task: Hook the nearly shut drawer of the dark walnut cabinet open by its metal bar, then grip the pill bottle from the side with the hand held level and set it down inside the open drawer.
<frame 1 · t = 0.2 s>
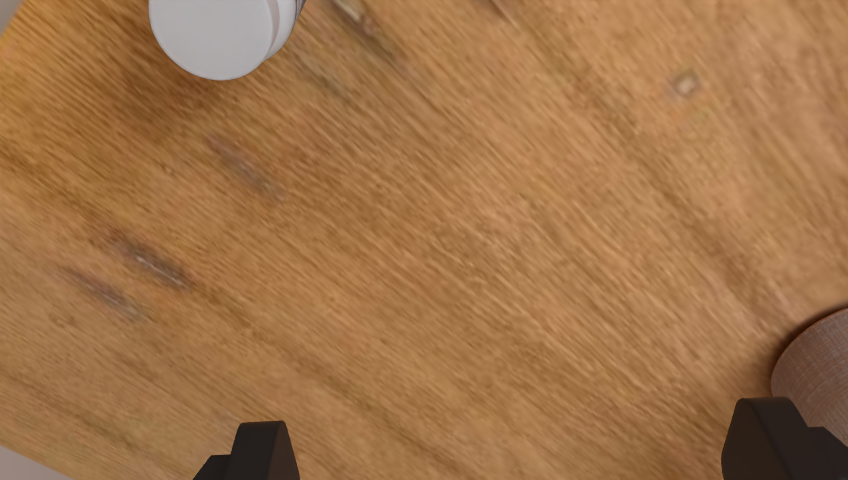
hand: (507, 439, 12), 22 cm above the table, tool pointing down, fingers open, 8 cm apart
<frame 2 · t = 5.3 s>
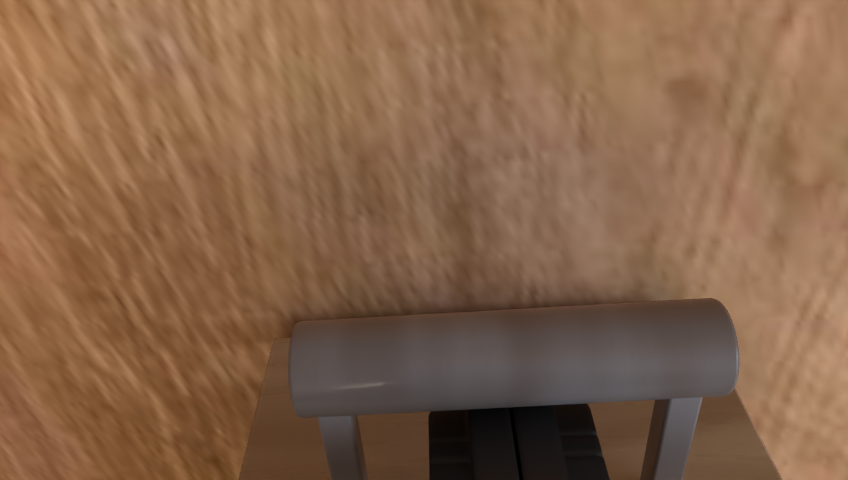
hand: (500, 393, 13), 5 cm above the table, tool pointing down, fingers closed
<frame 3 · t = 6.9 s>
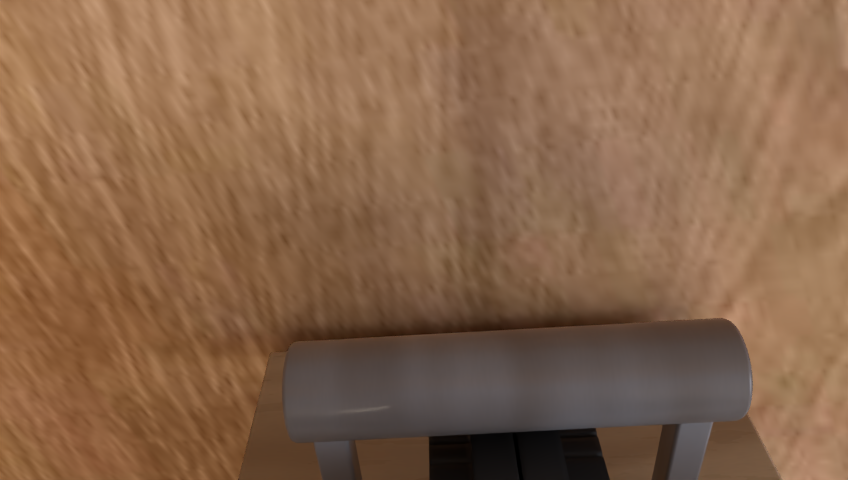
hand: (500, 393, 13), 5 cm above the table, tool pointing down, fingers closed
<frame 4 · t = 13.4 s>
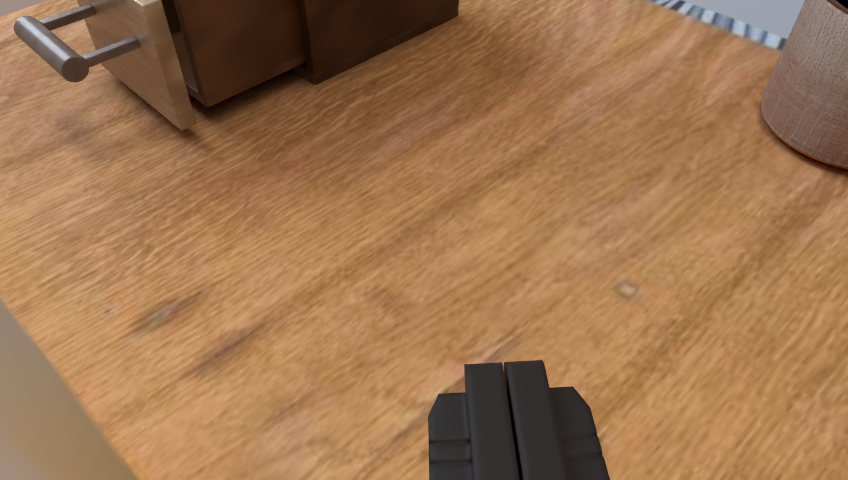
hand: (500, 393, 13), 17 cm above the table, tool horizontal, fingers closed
cabinet: (341, 20, 57), on the table
drawer: (183, 15, 47), point 5 cm above the table, slide at 9.5 cm
planter: (837, 130, 47), on the table
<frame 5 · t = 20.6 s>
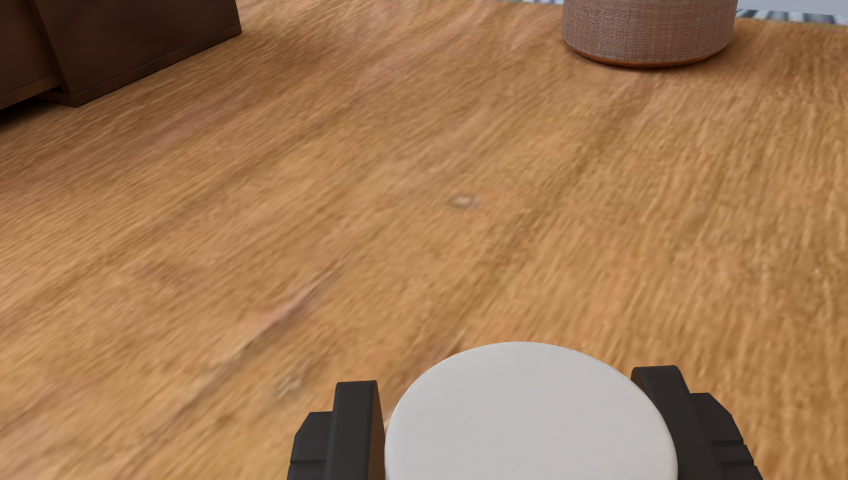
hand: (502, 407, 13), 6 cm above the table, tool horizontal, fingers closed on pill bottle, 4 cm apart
cabinet: (110, 55, 51), on the table
planter: (642, 45, 46), on the table
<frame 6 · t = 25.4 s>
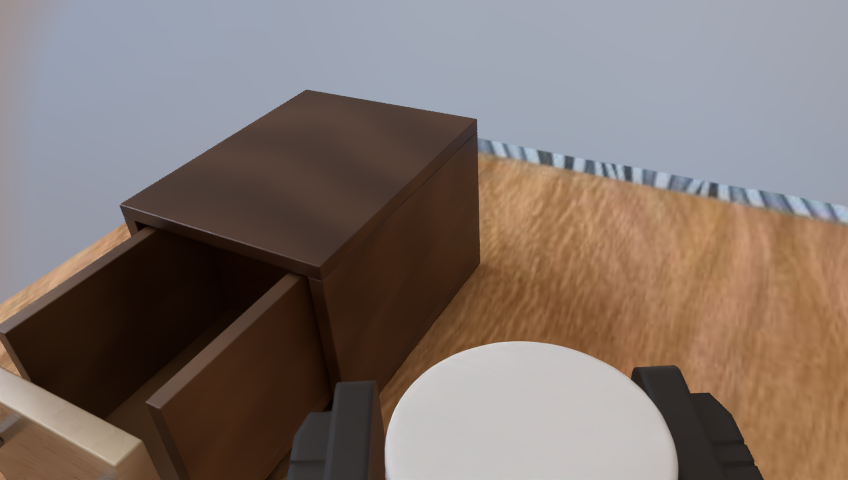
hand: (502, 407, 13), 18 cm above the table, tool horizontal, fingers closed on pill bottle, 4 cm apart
cabinet: (338, 305, 43), on the table
drawer: (146, 398, 30), point 5 cm above the table, slide at 9.5 cm
when the fingers open (11 cm above the table, at t = 30.4 s): pill bottle drops 3 cm, resting on drawer.
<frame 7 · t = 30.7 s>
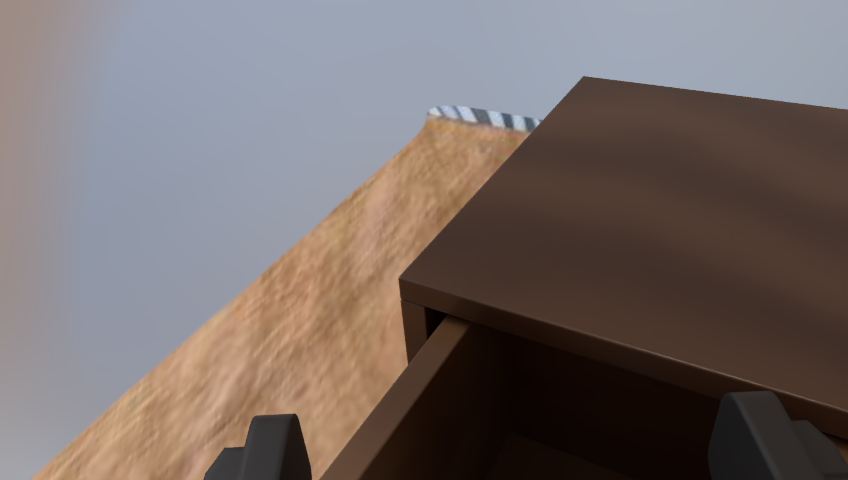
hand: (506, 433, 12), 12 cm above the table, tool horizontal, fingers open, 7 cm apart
cabinet: (655, 415, 27), on the table
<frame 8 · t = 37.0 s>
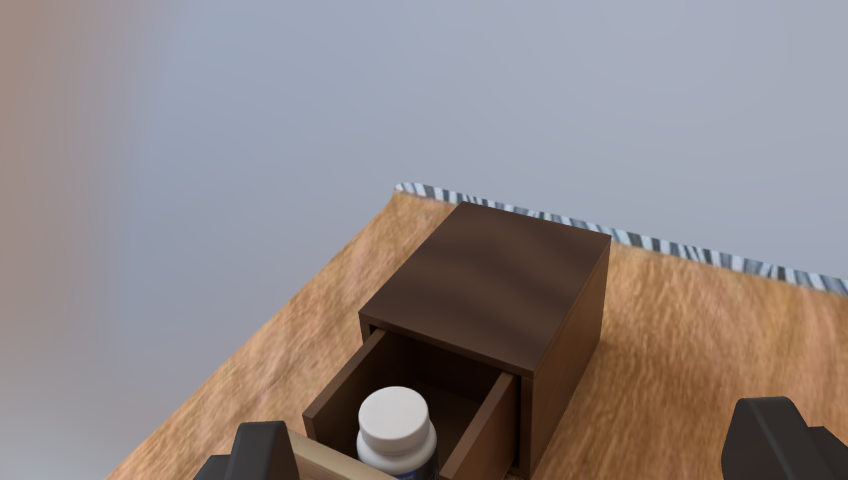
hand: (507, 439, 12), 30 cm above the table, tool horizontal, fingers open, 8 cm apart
cabinet: (493, 376, 54), on the table
drawer: (399, 462, 41), point 5 cm above the table, slide at 9.4 cm, touching pill bottle
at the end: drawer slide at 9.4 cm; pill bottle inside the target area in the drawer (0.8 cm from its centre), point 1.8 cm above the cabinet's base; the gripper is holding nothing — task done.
